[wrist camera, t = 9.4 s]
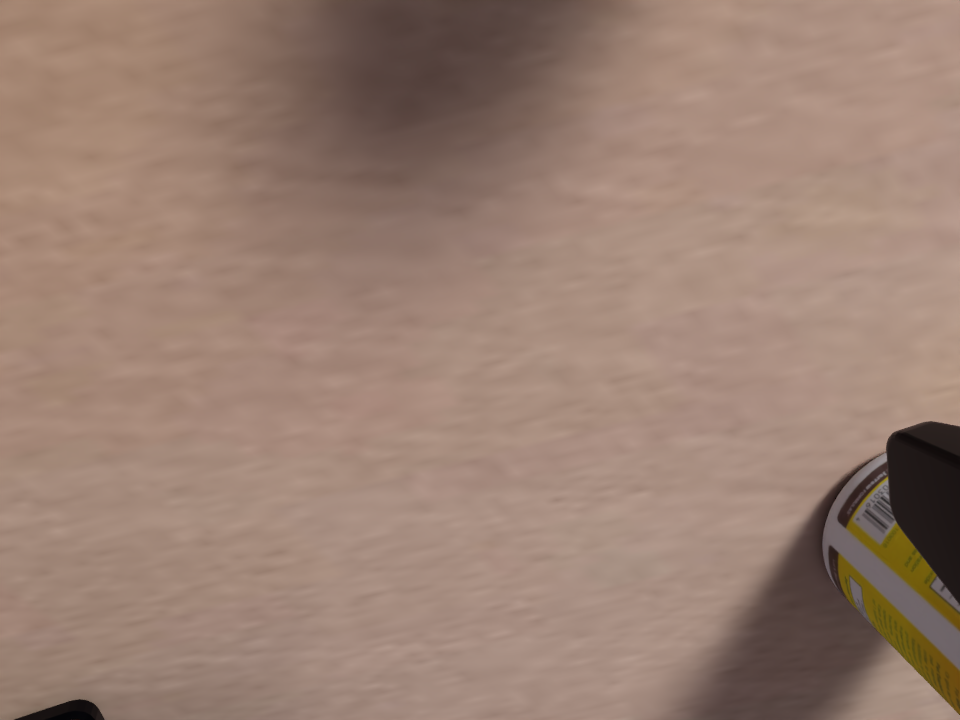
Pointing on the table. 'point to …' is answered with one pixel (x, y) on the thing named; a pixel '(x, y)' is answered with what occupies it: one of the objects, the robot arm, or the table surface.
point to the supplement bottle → (892, 580)
